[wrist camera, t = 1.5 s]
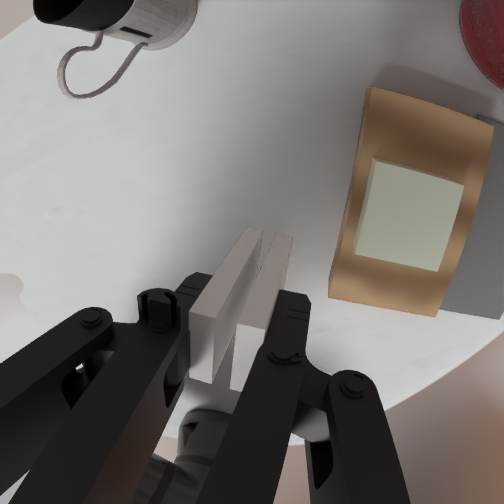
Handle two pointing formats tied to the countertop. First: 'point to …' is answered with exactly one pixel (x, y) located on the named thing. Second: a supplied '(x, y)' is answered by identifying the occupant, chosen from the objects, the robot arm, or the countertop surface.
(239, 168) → the countertop surface
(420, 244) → the coaster
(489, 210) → the mat
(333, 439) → the robot arm
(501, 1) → the canister
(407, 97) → the plate
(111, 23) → the glass holder
